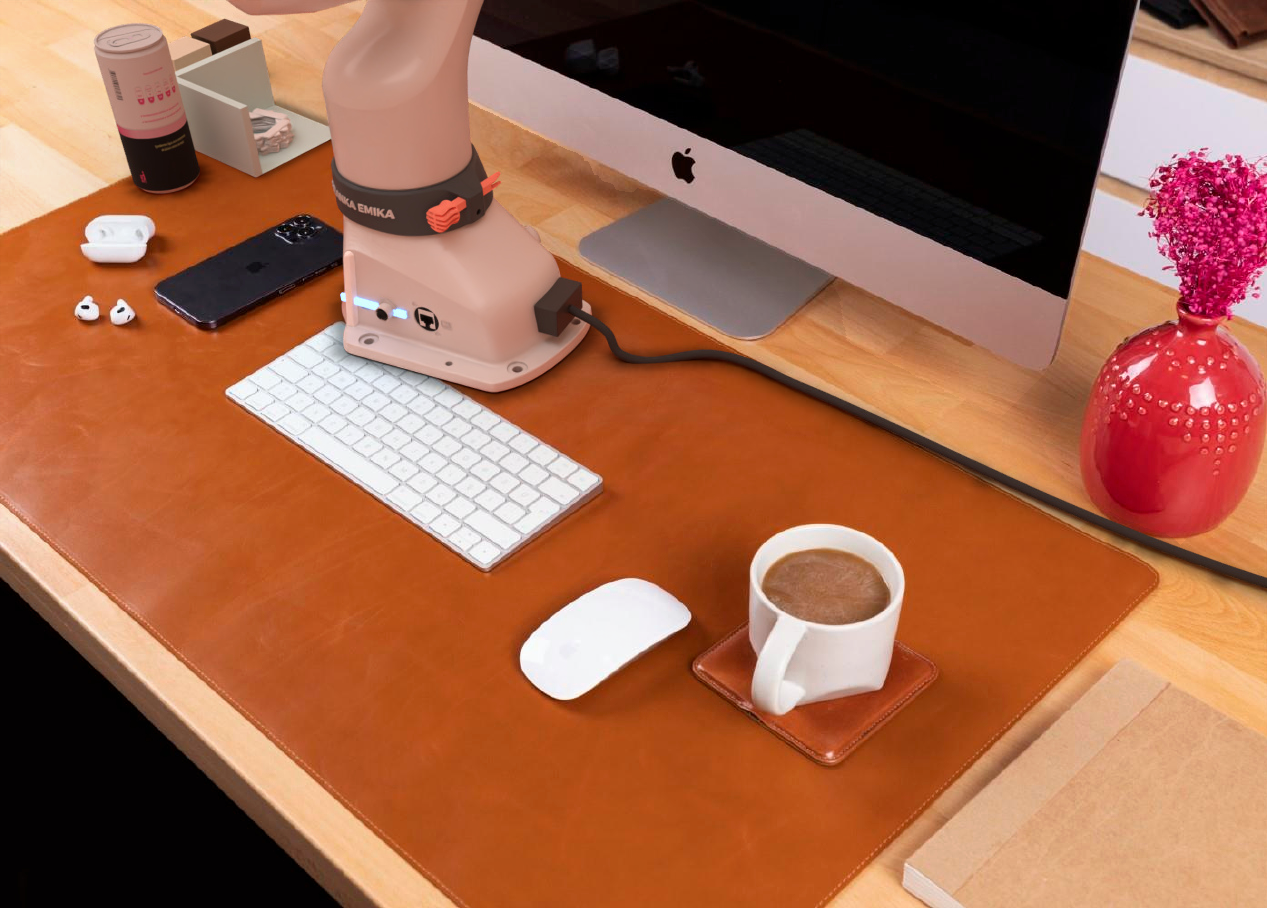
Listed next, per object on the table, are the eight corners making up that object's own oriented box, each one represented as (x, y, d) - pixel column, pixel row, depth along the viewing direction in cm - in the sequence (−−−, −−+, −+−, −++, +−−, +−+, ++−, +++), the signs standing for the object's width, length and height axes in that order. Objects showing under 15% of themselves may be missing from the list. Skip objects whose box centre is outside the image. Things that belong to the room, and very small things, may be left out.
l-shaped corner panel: (255, 177, 129) (240, 109, 124) (180, 143, 135) (163, 76, 130) (343, 132, 136) (331, 66, 131) (268, 102, 142) (254, 37, 137)
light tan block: (221, 95, 143) (209, 43, 139) (187, 111, 140) (173, 60, 136) (197, 86, 145) (185, 35, 141) (162, 102, 142) (149, 51, 138)
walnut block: (259, 76, 147) (248, 26, 143) (226, 92, 144) (214, 41, 140) (235, 68, 148) (224, 17, 144) (202, 83, 145) (190, 33, 141)
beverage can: (124, 176, 129) (81, 34, 119) (184, 156, 132) (147, 16, 122) (150, 202, 126) (107, 57, 116) (211, 181, 129) (175, 38, 119)
